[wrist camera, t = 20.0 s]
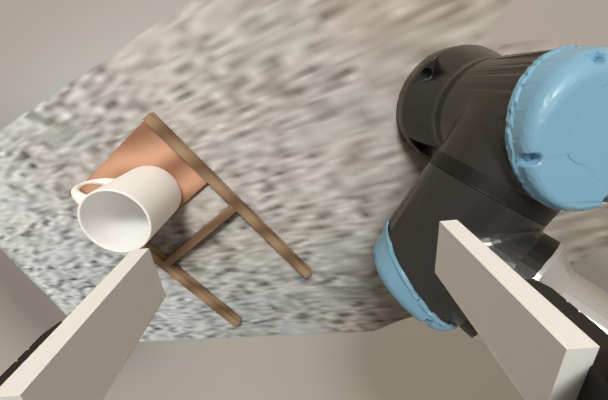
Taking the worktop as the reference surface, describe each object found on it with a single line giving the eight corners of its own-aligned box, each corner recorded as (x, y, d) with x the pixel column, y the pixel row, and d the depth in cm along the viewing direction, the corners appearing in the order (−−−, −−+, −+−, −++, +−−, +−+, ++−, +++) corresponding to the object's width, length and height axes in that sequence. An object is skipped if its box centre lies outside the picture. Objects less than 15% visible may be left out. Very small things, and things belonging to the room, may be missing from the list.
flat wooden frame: (310, 269, 52) (311, 274, 50) (236, 320, 56) (235, 327, 55) (153, 112, 41) (148, 113, 39) (77, 191, 45) (69, 195, 44)
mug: (108, 145, 42) (50, 166, 32) (189, 176, 44) (158, 205, 34) (98, 196, 45) (42, 229, 35) (175, 223, 47) (143, 262, 37)
